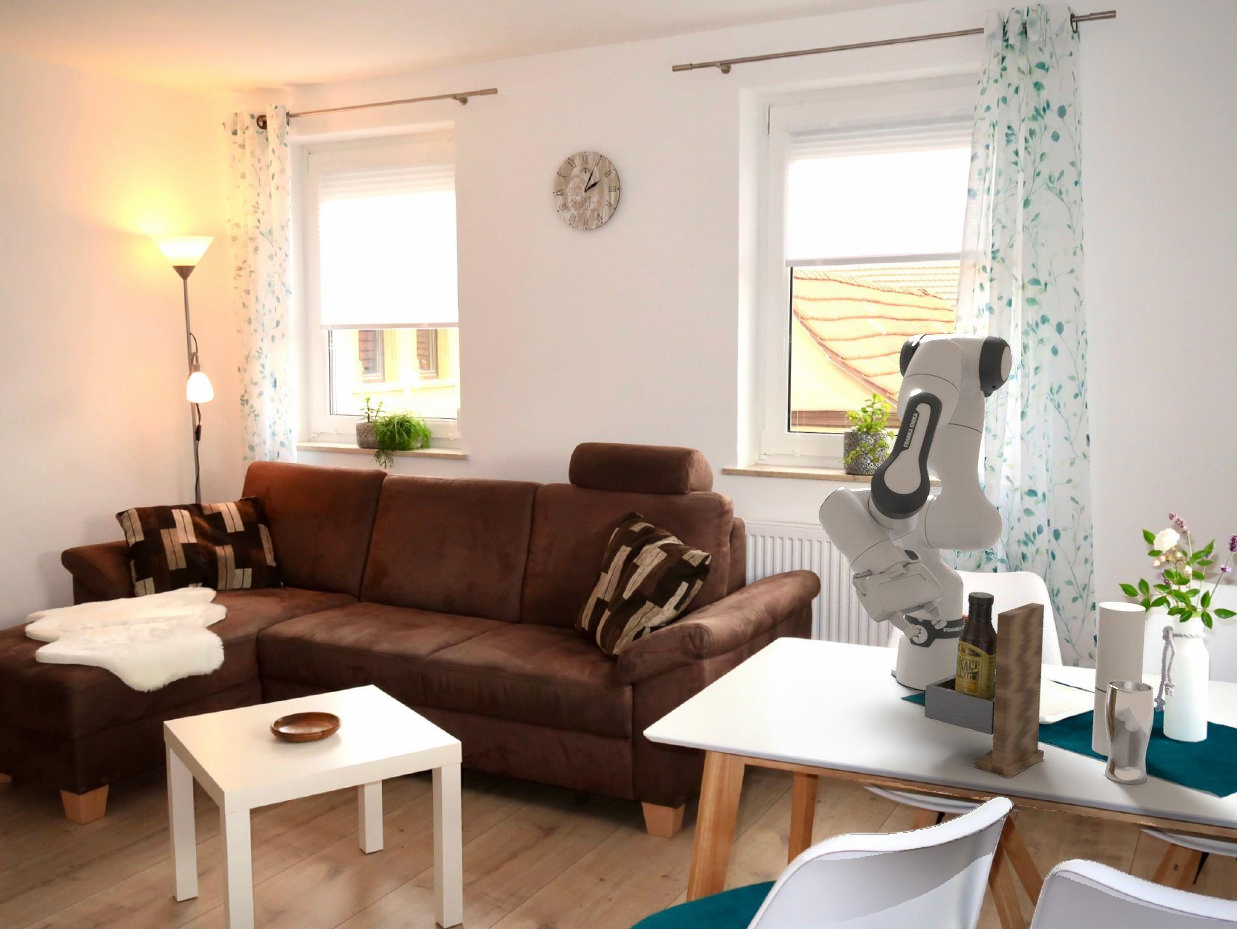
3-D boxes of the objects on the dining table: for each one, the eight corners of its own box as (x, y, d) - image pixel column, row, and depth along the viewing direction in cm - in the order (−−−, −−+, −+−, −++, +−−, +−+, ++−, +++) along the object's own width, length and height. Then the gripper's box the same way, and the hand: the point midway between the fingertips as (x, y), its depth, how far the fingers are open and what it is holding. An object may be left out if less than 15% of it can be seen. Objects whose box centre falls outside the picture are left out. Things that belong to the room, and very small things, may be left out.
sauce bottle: (946, 706, 182) (950, 591, 180) (975, 702, 185) (979, 588, 183) (973, 718, 176) (978, 599, 174) (1002, 713, 179) (1007, 596, 177)
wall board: (1008, 750, 183) (1015, 599, 180) (1043, 759, 178) (1050, 605, 176) (974, 767, 175) (980, 610, 172) (1009, 778, 170) (1016, 617, 168)
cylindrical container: (1135, 761, 178) (1143, 613, 176) (1088, 753, 182) (1095, 607, 179) (1140, 748, 184) (1147, 605, 182) (1095, 740, 188) (1102, 600, 185)
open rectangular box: (957, 703, 189) (958, 672, 188) (1026, 720, 180) (1027, 688, 179) (924, 717, 181) (925, 685, 181) (994, 735, 172) (995, 702, 172)
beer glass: (1155, 787, 167) (1160, 693, 165) (1107, 783, 168) (1112, 690, 167) (1143, 771, 174) (1147, 680, 172) (1097, 767, 175) (1101, 677, 174)
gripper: (859, 564, 183) (908, 631, 177) (922, 550, 197) (969, 611, 191) (836, 586, 187) (884, 652, 181) (899, 571, 201) (945, 631, 195)
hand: (928, 631), depth 186 cm, fingers open, 8 cm apart
